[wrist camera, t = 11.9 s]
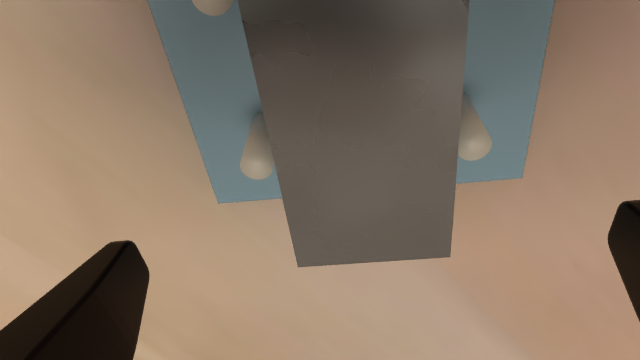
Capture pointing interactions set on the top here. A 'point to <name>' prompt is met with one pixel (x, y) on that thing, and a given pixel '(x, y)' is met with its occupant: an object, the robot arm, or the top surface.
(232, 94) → the pin tray
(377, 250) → the block
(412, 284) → the top surface
